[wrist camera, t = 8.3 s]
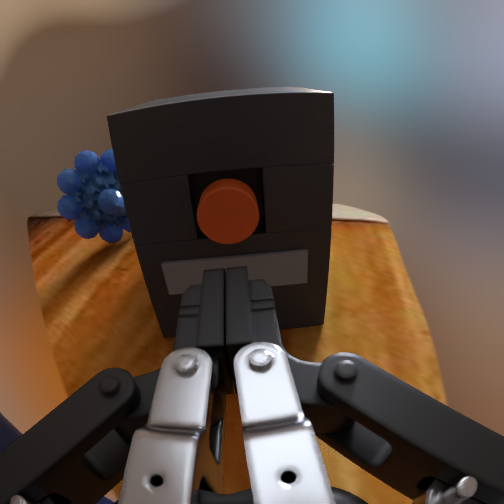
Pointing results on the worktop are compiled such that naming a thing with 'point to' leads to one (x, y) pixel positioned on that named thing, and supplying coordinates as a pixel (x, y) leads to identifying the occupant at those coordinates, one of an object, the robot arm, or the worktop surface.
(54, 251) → the worktop surface
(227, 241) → the power button
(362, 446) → the robot arm
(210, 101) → the push button control box
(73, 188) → the grapes
